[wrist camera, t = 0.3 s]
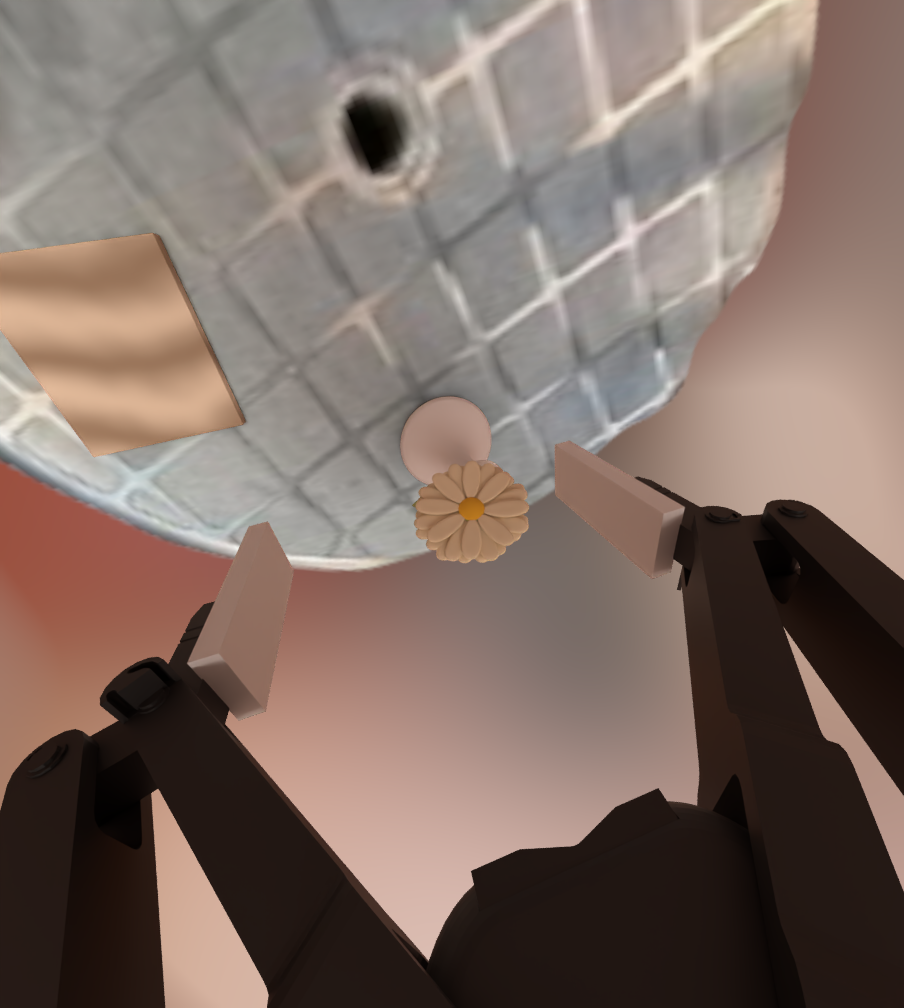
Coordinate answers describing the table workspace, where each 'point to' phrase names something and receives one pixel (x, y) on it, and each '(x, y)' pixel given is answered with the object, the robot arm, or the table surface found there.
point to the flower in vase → (461, 483)
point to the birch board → (114, 342)
